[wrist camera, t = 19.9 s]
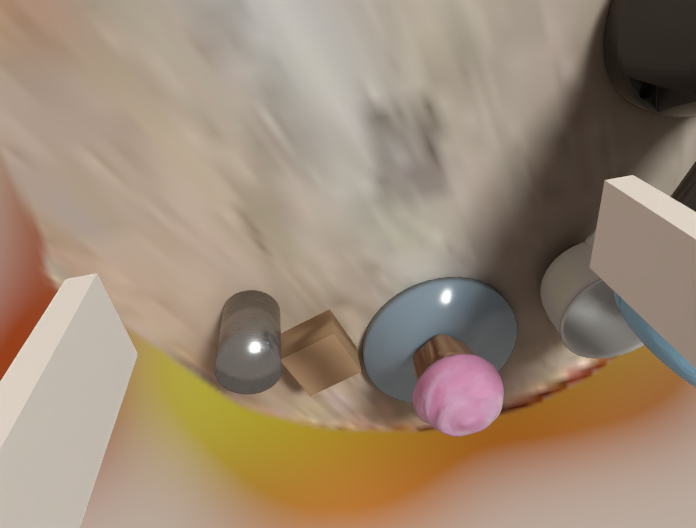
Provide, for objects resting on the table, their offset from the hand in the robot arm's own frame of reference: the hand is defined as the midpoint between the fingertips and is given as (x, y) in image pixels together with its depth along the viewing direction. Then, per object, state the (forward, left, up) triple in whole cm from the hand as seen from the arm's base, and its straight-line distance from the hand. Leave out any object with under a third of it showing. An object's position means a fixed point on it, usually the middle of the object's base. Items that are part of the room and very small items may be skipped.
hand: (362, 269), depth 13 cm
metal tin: (+9, +22, -28) cm, 37 cm away
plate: (-10, +30, -28) cm, 42 cm away
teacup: (-25, +22, -28) cm, 44 cm away
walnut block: (+3, +27, -28) cm, 39 cm away
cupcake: (-10, +30, -27) cm, 42 cm away
